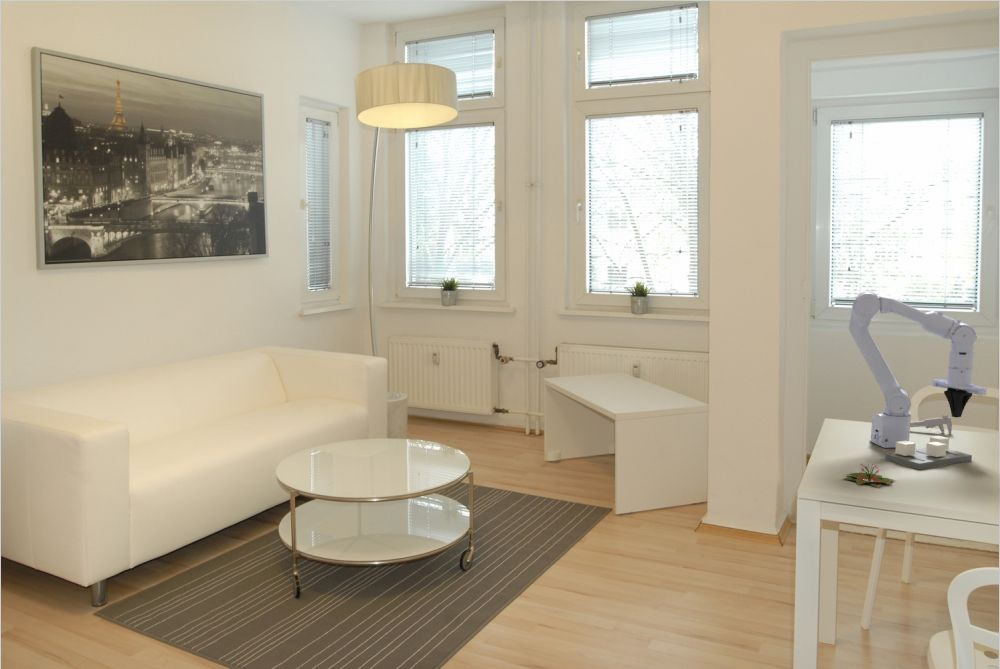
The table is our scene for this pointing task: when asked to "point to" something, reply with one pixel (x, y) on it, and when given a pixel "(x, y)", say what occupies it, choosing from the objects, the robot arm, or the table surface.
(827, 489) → the table surface
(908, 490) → the table surface
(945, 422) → the caliper
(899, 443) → the light grey block
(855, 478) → the lily flower
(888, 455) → the switch panel
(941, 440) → the tab
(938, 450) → the tab
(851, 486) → the table surface
